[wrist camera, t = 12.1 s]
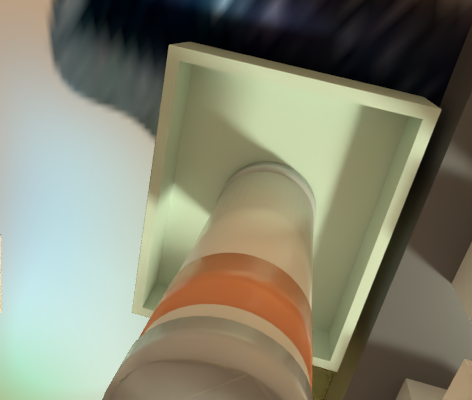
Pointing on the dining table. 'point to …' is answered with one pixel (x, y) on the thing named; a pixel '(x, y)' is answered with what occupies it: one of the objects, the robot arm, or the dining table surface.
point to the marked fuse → (235, 301)
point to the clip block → (422, 272)
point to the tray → (291, 154)
